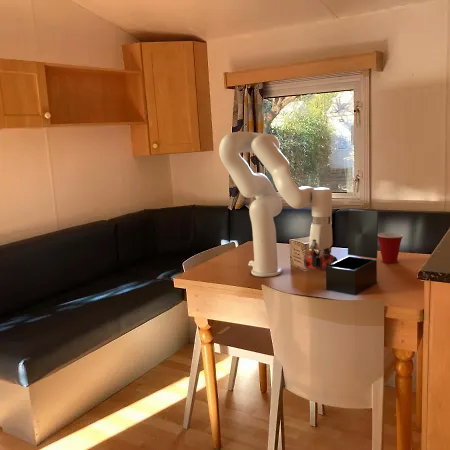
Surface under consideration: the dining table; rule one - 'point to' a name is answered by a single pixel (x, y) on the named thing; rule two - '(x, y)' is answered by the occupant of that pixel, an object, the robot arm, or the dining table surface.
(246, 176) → the robot arm
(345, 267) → the trash bin
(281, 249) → the dining table surface
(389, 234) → the plastic cup
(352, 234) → the bin lid
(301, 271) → the dining table surface
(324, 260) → the beverage can
